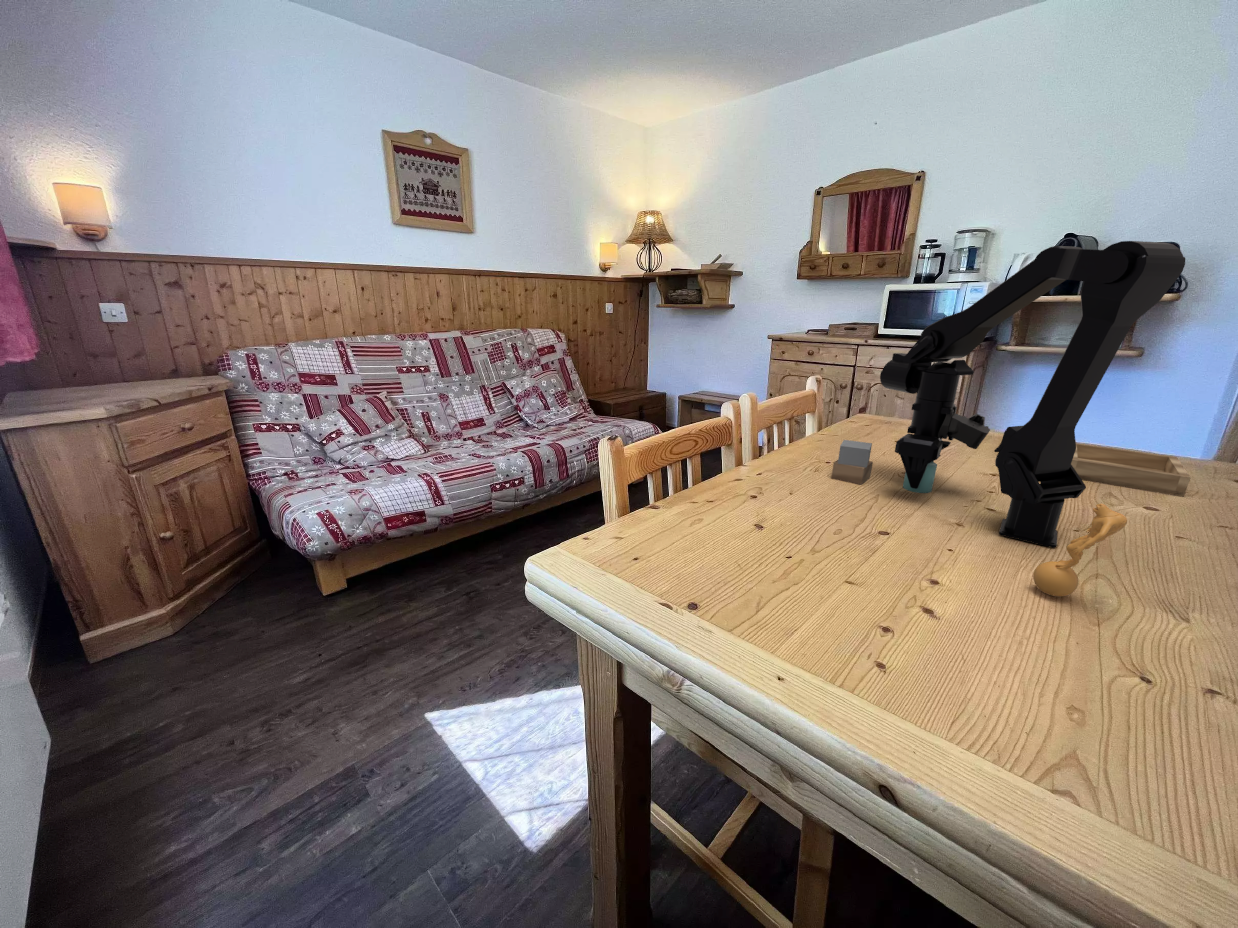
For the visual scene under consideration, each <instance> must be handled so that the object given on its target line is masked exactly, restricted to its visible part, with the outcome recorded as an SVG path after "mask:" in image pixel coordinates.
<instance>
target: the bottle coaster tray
mask: <svg viewBox="0 0 1238 928" xmlns="http://www.w3.org/2000/svg"><path fill="white" fill-rule="evenodd" d="M1071 465H1072V466H1073V468H1074V469H1075V471H1076V472H1077V474H1078V475H1079V477H1080V478H1081V480H1082V481H1088V482H1093V483H1097V484H1098V483H1099V484H1105V485H1110V486H1116V487H1122V488H1130V489H1136V490H1139V491H1140V490H1141V491H1147V492H1152V491H1153V493H1157V492H1159V493H1158V494H1163V493H1164V494H1163V495H1169V494H1170V496H1175V495H1177V497H1181V496H1182V497H1184V496H1185V494H1186V491H1187V489H1188V486H1189V483H1190V482H1191V478H1192V477H1191V476H1190V474H1189V473H1188V471H1187V470H1186V469H1185V467H1184V465H1183V464H1182V462H1181V461H1180V460H1179V459H1178V457H1177V456H1172V455H1165V454H1157V453H1152V452H1151V453H1150V452H1143V451H1135V450H1128V449H1120V448H1113V447H1106V446H1105V447H1104V446H1098V445H1090V444H1084V443H1083V444H1082V443H1077V442H1076V450H1075V453H1074V456H1073V459H1072V462H1071Z"/></svg>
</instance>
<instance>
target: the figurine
mask: <svg viewBox="0 0 1238 928" xmlns="http://www.w3.org/2000/svg"><path fill="white" fill-rule="evenodd" d="M1092 510H1093V512H1094V513H1095V514H1096V515H1095V516H1094V517H1093V519H1092V521H1091V525H1090V526H1091V527H1089V528H1087V530H1086V531H1085V533H1087V534H1086V535H1082V536H1080V537H1077V538H1074V539H1072V540H1070V543H1069V544H1068V545H1066V551H1067V553H1068V554H1069V556H1070V559H1067V560H1063V559H1060V560H1058V561H1051V560H1050V561H1045V562H1043V563H1040V564H1039V565H1038V566H1036V567H1035V569H1034V571H1033V574H1032V580H1033V583H1034V585H1035V586H1036V587H1037V588H1038V589H1039V590H1040V591H1041V592H1042V593H1044V594H1046V595H1049V596H1053V597H1066V596H1070V595H1071V594H1073V593H1074V592H1075V591H1076V590H1077V589H1078V586H1079V576H1078V574H1077V573H1076V571H1075V570H1074V568H1072V567H1074V566H1076V565H1078V564H1079V563H1080V560H1081V559H1082V557H1083V556H1084V555H1083V554H1084V553H1083V551H1084V550H1088V549H1090V548H1092V547H1094V546H1095V545H1096V544H1097V543H1100V542H1102V541H1105V540H1106V539H1107V538H1108V537H1110V536H1113V535H1115V534H1117V533H1118V532H1120V531H1121V530H1124V528H1125V527H1126V525H1127V524H1128V518H1127V516H1125V515H1124V514H1122V513H1120V512H1117V511H1115V510H1112V509H1110V507H1108V506H1107V505H1106V504H1104V503H1098V504H1095V507H1093V508H1092Z"/></svg>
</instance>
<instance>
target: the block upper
mask: <svg viewBox="0 0 1238 928" xmlns="http://www.w3.org/2000/svg"><path fill="white" fill-rule="evenodd" d="M872 446H873V443H871V442H866V441H865V442H864V441H856V440H848V439H843V440H842V442H841V444H840V445H839V453H838V459H837V460H838V464H844V465H851V466H858V467H865V468H867V465H868V463H869V461H870V458H871V452H872Z"/></svg>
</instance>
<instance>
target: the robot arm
mask: <svg viewBox="0 0 1238 928" xmlns="http://www.w3.org/2000/svg"><path fill="white" fill-rule="evenodd" d="M1185 265H1186V257H1185V256H1184V255H1183V253H1182V251H1181V249H1180V248H1179V247H1177V246H1176V245H1175V244H1173V243H1168V242H1163V241H1162V242H1161V241H1143V240H1141V241H1139V240H1138V241H1137V240H1123V241H1119V242H1115V243H1113V244H1110V245H1108V246H1107V247H1105V248H1104V249H1092V248H1090V249H1089V248H1088V249H1087V248H1085V249H1084V248H1082V247H1080V246H1069V245H1068V246H1064V245H1060V246H1059V245H1054V246H1050V247H1048V248H1046V249H1043V250H1042V251H1040V252H1039V253H1038V254H1037V255H1036V256H1035V259H1033V260H1031V262H1029V263H1028V264H1026V265H1024V267H1022V268H1020V269H1019V270H1018V271H1017V272H1015V273H1013V275H1011V276H1010V277H1009V278H1007V279H1006V280H1004V281H1003V282H1002V283H1000V284H999V285H998V286H996V287H995V288H993V289H991V291H989V292H988V293H986V295H984V296H983V297H981V298H980V299H978V300H977V301H976V302H974V303H973V304H972V305H969V307H968V308H966V309H963V310H962V311H961V310H960V311H959V312H956V313H954V314H951V315H947V316H945V317H942V318H941V319H940V318H939V320H937V321H935V322H933V323H931V324H929V325H928V326H926V327H925V328H923V330H922V332H921V333H920V337H919V339H918V340H917V341H916V342H915V343H914V345H912V347H911V348H910V349H909V350H908V352H907V353H903V352H895V353H893V354H892V358H891V359H890V360H889V361H888V362H887V363H885V365H884V366H883V368H882V370H881V371H880V374H879V379H880V384H881V385H882V387H884V388H885V389H889V390H893V391H897V392H903V393H906V394H911V395H915V394H916V397H915V402H914V403H912V405H911V411H913V412H912V417H911V424H910V425H909V426H908V427H907V432H906V434H904V436H902V437H900V438H899V439H898V440H897V441H896V442H895V447H894V453H896V454H898V455H899V457H900V458H901V459H900V460H901V461H902V464H903V468H904V471H905V472H906V474H907V477H908V481H909V484H910V487H911V488H914V489H917V488H918V487H919V485H920V482H921V480H922V478H923V475H924V473H925V471H926V468H927V466H928V464H929V463H930V462H934V463H935V461H937V460H938V459H939V458H940V457H941V456H942V454H941V452H942V450H944V449H947V448H948V447H949V446H950V444H951V442H950V441H953V440H956V441H959V442H961V443H963V444H964V445H966V447H968V448H971V449H974V450H977V449H978V448H979V446H980V445H981V443H982V442H983V441H984V439H985V438H986V437H987V435H988V434H989V433H990V431H991V428H989V426H988V425H986V426H985V423H986V422H985V421H986V417H985V416H983V415H981V414H978V413H975V414H973V415H971V416H969V417H967V416H965V415H961V414H958V413H957V410H958V409H957V408H958V406H956V403H955V401H956V400H955V399H956V396H957V391H958V387H959V383H960V376H972V375H974V373H975V372H974V370H973V369H972V367H970V365H968V364H967V362H966V360H965V359H962V358H964V357H967V356H968V355H970V354H971V352H973V351H974V350H975V349H976V348H978V347H979V346H980V345H981V344H982V343H983V342H984V340H985V339H986V337H987V334H989V332H990V331H991V330H992V329H994V328H995V327H996V326H998V325H1000V323H1002V322H1004V321H1006V320H1007V319H1009V318H1010V317H1012V316H1013V315H1015V314H1016V313H1018V312H1019V311H1021V310H1022V309H1024V308H1026V307H1027V306H1029V305H1030V304H1031V303H1033V302H1035V301H1036V300H1038V299H1039V298H1041V297H1043V295H1046V293H1049V292H1050V291H1051V290H1053V289H1054V288H1056V287H1057V286H1059V285H1061V284H1062V283H1064V282H1065V281H1067V280H1068V281H1079V282H1082V287H1081V290H1080V302H1081V317H1080V321H1079V322H1078V325H1077V327H1076V329H1075V331H1074V332H1073V334H1072V336H1071V339H1070V340H1069V342H1068V345H1067V347H1066V349H1065V351H1064V352H1063V355H1062V357H1061V359H1060V360H1059V363H1058V365H1057V366H1056V369H1055V371H1054V372H1053V375H1051V376H1052V377H1051V379H1050V381H1049V383H1048V384H1047V386H1046V389H1045V391H1044V393H1043V394H1042V396H1041V399H1040V400H1039V403H1037V407H1036V408H1035V410H1034V413H1033V415H1032V416H1031V418H1030V419H1029V421H1027V422H1026V423H1025V424H1023V425H1015V426H1008V427H1007V428H1006V429H1005V431H1004V432H1003V436H1002V438H1001V441H1000V443H999V445H998V446H997V447H996V448H995V449H994V451H993V452H994V453H997V454H996V456H995V460H994V462H995V463H994V465H995V467H996V468H997V470H998V477H999V484H1000V485H999V486H1000V487H999V488H1000V493H1001V494H1003V495H1005V496H1008V497H1009V498H1010V499H1011V500H1010V503H1009V506H1008V507H1009V508H1008V512H1007V514H1006V518H1003V519H1002V521H1001V523H1000V524H1001V525H1000V528H999V530H998V535H1000V536H1002V537H1007V538H1012V539H1015V540H1018V541H1019V540H1020V541H1024V542H1027V543H1028V542H1029V543H1032V544H1036V545H1040V546H1044V547H1049V548H1057V546H1058V530H1057V527H1058V524H1059V521H1060V517H1061V515H1062V510H1063V507H1064V503H1065V501H1066V500H1068V499H1077V498H1079V497H1080V495H1081V494H1082V493H1083V492H1084V491H1085V490H1086V489H1087V485H1086V484H1085V483H1084V480H1081V478H1080V477H1079V475H1078V474H1077V472H1076V471H1075V469H1074V468H1073V466H1072V465H1071V462H1072V459H1073V456H1074V453H1075V450H1076V443H1077V441H1076V433H1075V430H1076V427H1077V425H1078V423H1079V422H1080V419H1081V417H1082V415H1083V413H1084V412H1085V410H1086V409H1087V406H1089V403H1090V401H1091V399H1092V398H1093V396H1094V394H1095V393H1096V390H1097V389H1098V387H1099V385H1100V383H1101V381H1102V380H1103V377H1104V376H1105V374H1106V373H1107V371H1108V369H1109V367H1110V365H1111V363H1112V361H1113V360H1114V358H1115V356H1116V354H1117V352H1118V351H1119V349H1120V347H1121V345H1122V344H1123V342H1124V340H1125V338H1126V337H1127V335H1128V333H1129V331H1130V329H1131V327H1132V326H1133V324H1134V323H1135V322H1136V321H1138V319H1140V318H1141V317H1142V316H1143V315H1145V314H1146V313H1147V312H1148V311H1149V310H1151V309H1152V308H1153V307H1154V306H1155V305H1156V304H1158V303H1159V302H1160V301H1161V300H1162V299H1163V297H1164V296H1165V295H1166V294H1167V292H1168V291H1169V290H1170V289H1171V287H1172V286H1173V285H1174V283H1175V282H1176V281H1177V280H1178V278H1179V277H1180V276H1181V274H1182V273H1183V271H1184V269H1185ZM953 359H954V360H953ZM951 360H953V361H951ZM949 361H951V362H949ZM943 439H944V440H943Z"/></svg>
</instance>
